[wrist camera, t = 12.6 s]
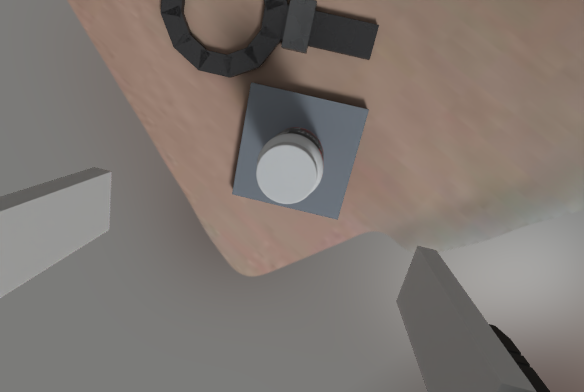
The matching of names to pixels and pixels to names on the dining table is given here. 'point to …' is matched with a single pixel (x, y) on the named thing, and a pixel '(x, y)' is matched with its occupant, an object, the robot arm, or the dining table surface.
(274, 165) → the pill bottle
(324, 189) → the slate trivet
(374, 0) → the dining table surface
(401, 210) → the dining table surface
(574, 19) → the dining table surface
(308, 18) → the iron eye
